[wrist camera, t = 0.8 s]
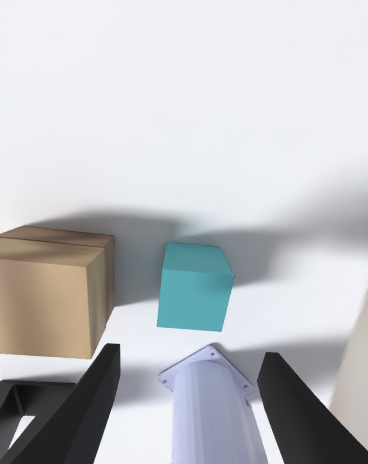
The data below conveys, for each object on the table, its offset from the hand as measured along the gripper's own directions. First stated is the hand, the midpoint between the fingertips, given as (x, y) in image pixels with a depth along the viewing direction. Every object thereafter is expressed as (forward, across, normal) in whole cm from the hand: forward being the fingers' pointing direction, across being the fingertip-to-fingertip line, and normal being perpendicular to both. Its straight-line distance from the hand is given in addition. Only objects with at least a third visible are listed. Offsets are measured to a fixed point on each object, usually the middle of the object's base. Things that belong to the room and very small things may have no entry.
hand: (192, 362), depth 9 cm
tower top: (+7, +11, +1) cm, 13 cm away
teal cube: (+10, 0, 0) cm, 10 cm away
